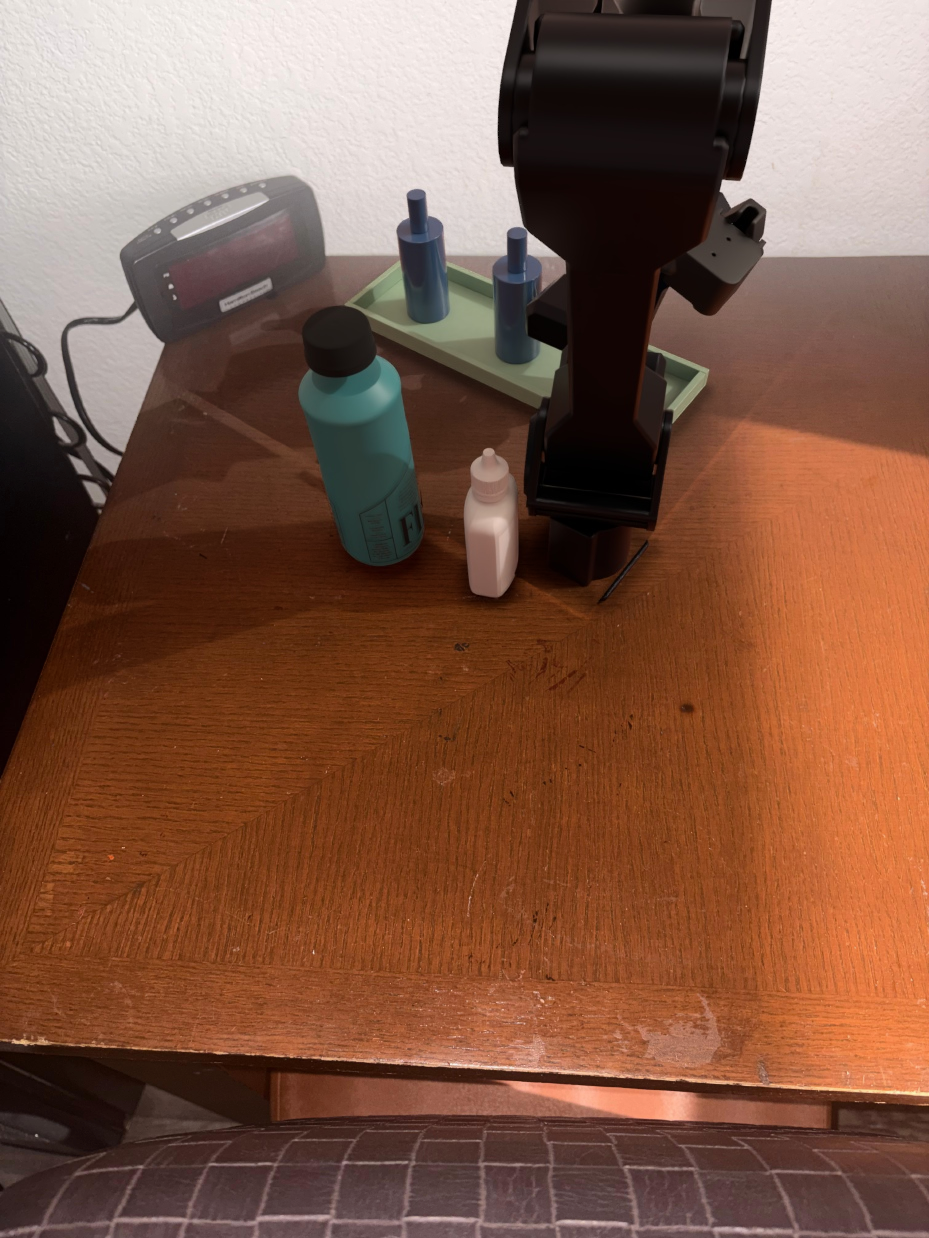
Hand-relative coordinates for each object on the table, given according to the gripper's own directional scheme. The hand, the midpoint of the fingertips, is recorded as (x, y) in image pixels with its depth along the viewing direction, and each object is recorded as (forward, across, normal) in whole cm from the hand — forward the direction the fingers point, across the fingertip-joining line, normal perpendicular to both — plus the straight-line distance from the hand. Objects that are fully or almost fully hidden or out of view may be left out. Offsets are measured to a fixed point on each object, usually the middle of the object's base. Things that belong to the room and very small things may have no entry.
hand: (619, 359), depth 67 cm
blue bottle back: (+4, 0, +20) cm, 20 cm away
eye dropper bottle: (+4, -20, -2) cm, 21 cm away
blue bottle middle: (+4, 0, +10) cm, 11 cm away
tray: (+4, 0, +10) cm, 11 cm away
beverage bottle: (+4, -23, +6) cm, 24 cm away
